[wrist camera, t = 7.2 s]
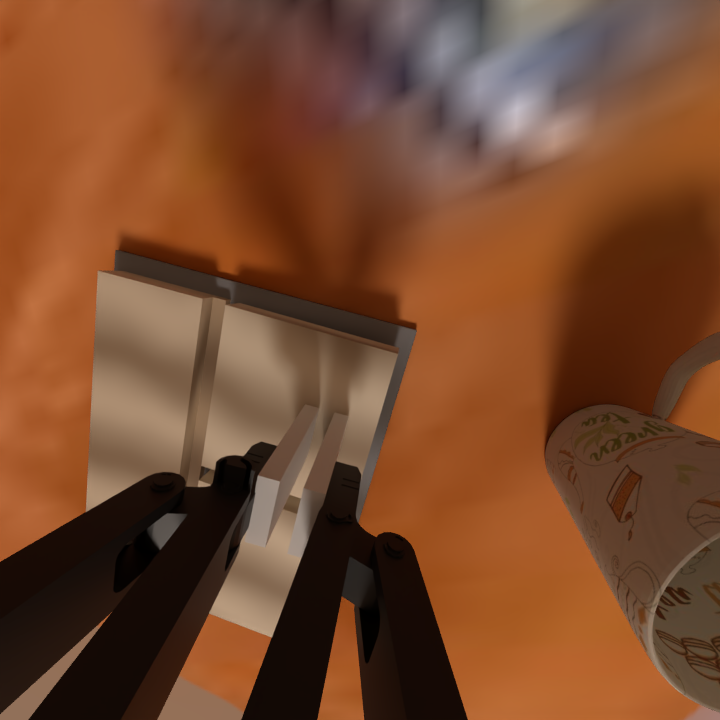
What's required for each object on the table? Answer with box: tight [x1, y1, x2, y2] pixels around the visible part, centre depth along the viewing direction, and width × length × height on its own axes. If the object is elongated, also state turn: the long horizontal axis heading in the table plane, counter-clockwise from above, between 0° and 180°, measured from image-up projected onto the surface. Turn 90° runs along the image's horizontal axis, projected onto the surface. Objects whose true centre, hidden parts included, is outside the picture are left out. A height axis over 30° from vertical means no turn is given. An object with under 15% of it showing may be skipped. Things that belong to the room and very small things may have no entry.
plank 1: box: [201, 303, 399, 498], centre depth 19 cm, size 10×9×2 cm
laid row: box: [86, 250, 417, 522], centre depth 21 cm, size 22×17×2 cm
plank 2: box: [198, 469, 301, 637], centre depth 21 cm, size 10×9×2 cm
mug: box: [545, 332, 720, 713], centre depth 14 cm, size 8×13×10 cm, turn 168°
